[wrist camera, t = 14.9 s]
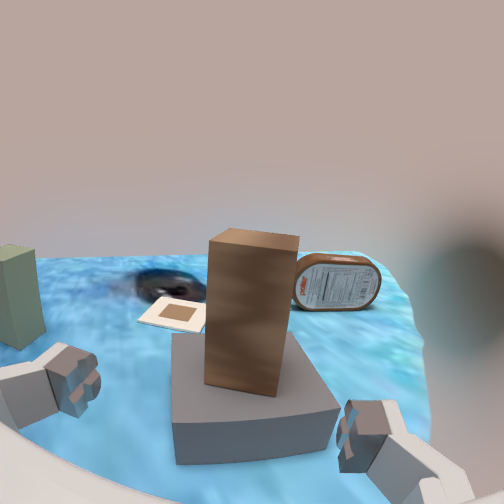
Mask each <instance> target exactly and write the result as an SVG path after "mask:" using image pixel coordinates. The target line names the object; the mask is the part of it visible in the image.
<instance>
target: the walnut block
mask: <svg viewBox="0 0 504 504" xmlns="http://www.w3.org/2000/svg"><path fill="white" fill-rule="evenodd" d="M298 246H299V236H294V235H286V234H277V233H268V232H260V231H251V230H242V229H233V228H229V229H228V230H226V231H224V232H223V233H221V234H219V235H218V236H216V237H215V238H213V239H211V240H209V254H208V272H207V294H206V320H205V355H204V383H205V384H209V385H214V386H219V387H224V388H229V389H234V390H239V391H245V392H251V393H257V394H263V395H269V396H276V394H277V388H278V383H279V377H280V371H281V365H282V359H283V353H284V347H285V340H286V334H287V327H288V320H289V314H290V307H291V299H292V292H293V285H294V277H295V270H296V262H297V254H298Z"/></svg>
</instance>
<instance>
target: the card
mask: <svg viewBox="0 0 504 504" xmlns="http://www.w3.org/2000/svg"><path fill="white" fill-rule="evenodd" d="M205 320H206V304H203V303H196V302H190V301H184V300H178V299H173V298H167V297H160V298H159V299H158V300H157V301H156V302H155V303H154V304H153V305H152V306H151V307H150V308H149V309H148V310H147V311H146V312H145V313H144V314H143V315H142V316H141V317H140V318H139V319H138V322H140V323H144V324H149V325H154V326H158V327H163V328H168V329H173V330H178V331H184V332H189V333H194V334H200V332H201V330H202V329H203V327H204V325H205Z"/></svg>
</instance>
